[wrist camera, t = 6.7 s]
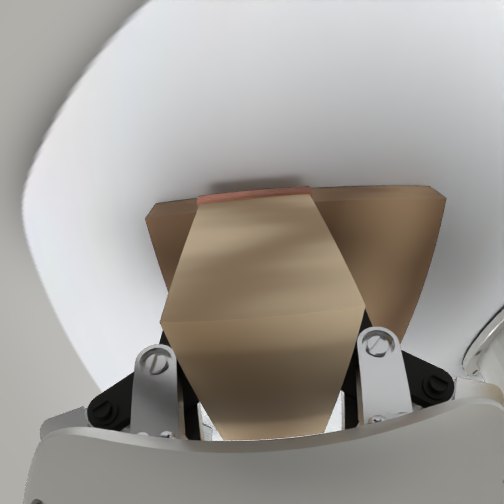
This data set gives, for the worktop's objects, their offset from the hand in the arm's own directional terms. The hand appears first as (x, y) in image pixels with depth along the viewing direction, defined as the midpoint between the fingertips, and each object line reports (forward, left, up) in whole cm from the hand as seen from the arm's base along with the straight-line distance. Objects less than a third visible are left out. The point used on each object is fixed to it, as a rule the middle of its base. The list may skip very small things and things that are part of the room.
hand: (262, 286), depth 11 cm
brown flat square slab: (-2, +4, -3) cm, 5 cm away
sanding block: (0, 0, -1) cm, 1 cm away
